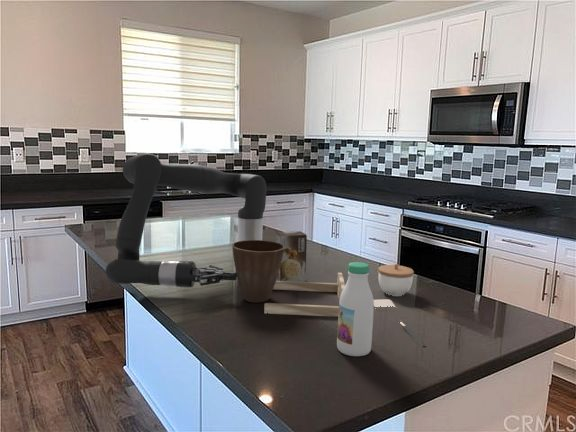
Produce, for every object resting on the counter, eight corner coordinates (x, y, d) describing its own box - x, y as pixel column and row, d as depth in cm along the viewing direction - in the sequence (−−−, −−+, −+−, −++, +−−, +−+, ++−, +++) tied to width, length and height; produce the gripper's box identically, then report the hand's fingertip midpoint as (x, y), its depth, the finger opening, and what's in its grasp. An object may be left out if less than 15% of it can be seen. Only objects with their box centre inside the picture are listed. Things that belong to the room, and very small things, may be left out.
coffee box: (300, 276, 158) (302, 230, 156) (306, 282, 152) (307, 234, 150) (274, 277, 156) (275, 231, 153) (279, 283, 150) (280, 235, 147)
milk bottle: (367, 342, 108) (372, 259, 105) (374, 357, 101) (380, 269, 97) (334, 341, 108) (338, 259, 105) (339, 357, 100) (344, 268, 97)
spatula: (389, 304, 136) (390, 299, 136) (436, 348, 107) (436, 342, 107) (370, 304, 135) (370, 299, 135) (411, 349, 106) (412, 343, 106)
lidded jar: (370, 289, 147) (372, 260, 146) (399, 286, 151) (401, 258, 150) (389, 300, 137) (391, 270, 136) (419, 297, 141) (421, 267, 140)
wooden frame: (270, 288, 145) (270, 269, 144) (340, 291, 144) (341, 272, 143) (264, 313, 124) (264, 292, 123) (346, 317, 123) (348, 295, 122)
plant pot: (224, 304, 129) (226, 248, 126) (236, 288, 143) (239, 237, 141) (276, 310, 127) (280, 253, 124) (284, 292, 141) (287, 242, 139)
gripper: (170, 267, 127) (233, 270, 126) (183, 255, 140) (240, 257, 139) (171, 293, 128) (232, 296, 128) (183, 279, 141) (239, 281, 141)
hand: (236, 276), depth 134 cm, fingers closed
